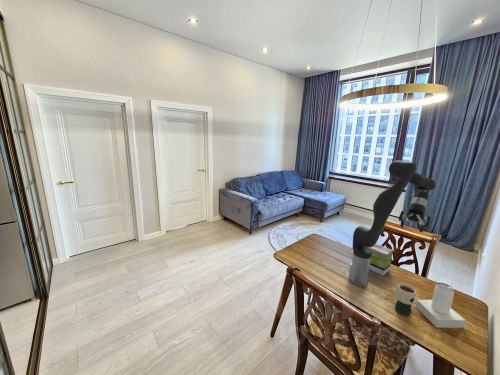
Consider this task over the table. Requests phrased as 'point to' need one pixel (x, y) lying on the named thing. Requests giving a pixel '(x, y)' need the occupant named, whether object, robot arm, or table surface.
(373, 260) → the tea box
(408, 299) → the character mug
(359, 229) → the robot arm
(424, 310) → the cream plinth
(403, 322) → the table surface
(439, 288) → the can
